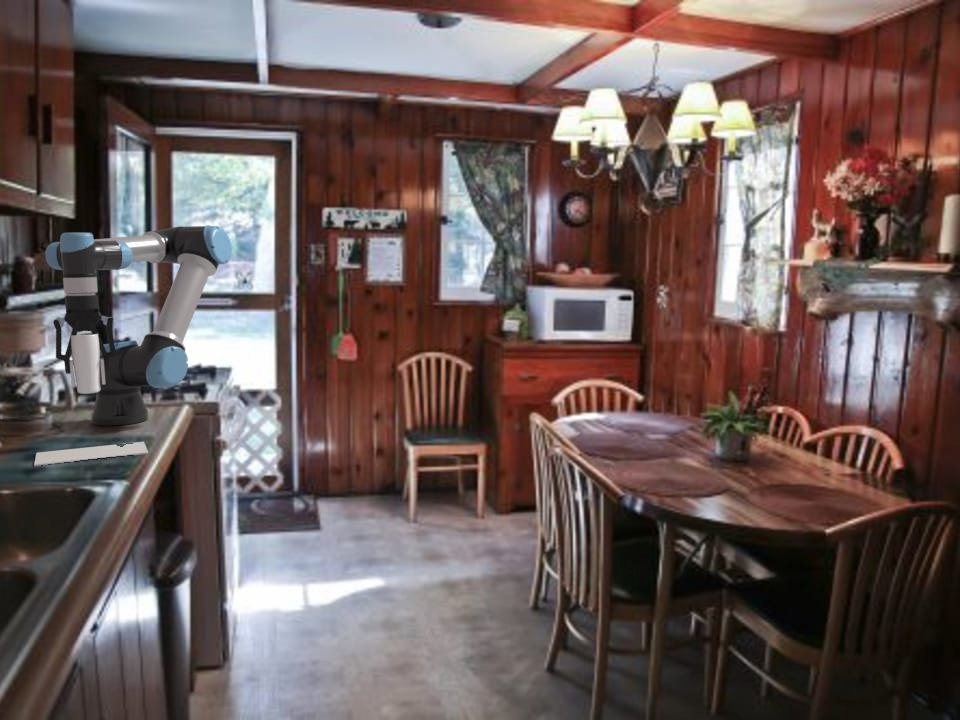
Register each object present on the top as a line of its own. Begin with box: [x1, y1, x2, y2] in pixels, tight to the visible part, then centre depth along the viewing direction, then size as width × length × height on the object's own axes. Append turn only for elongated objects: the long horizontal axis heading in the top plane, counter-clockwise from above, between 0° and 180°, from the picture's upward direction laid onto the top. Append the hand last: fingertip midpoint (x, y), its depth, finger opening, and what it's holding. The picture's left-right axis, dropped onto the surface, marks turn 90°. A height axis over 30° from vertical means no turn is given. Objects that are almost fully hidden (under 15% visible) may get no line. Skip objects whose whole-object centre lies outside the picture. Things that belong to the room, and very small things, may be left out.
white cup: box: [69, 332, 101, 395], centre depth 200 cm, size 7×7×15 cm
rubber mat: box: [33, 441, 149, 467], centre depth 190 cm, size 24×13×1 cm, turn 117°
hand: (88, 384), depth 201 cm, fingers closed on white cup, 6 cm apart
